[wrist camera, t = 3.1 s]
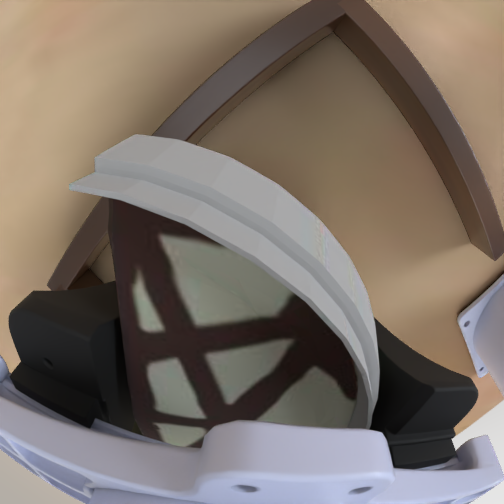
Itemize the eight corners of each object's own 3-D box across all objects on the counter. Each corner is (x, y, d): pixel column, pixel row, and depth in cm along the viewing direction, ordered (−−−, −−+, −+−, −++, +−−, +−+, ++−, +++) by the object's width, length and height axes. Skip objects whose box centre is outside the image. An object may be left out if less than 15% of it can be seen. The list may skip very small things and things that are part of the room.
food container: (296, 360, 17) (305, 514, 8) (197, 346, 17) (154, 496, 8) (350, 151, 12) (513, 221, 3) (213, 129, 12) (68, 143, 3)
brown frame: (483, 231, 13) (508, 248, 11) (230, 402, 19) (226, 430, 17) (332, 3, 9) (344, -19, 7) (68, 265, 15) (46, 285, 13)
